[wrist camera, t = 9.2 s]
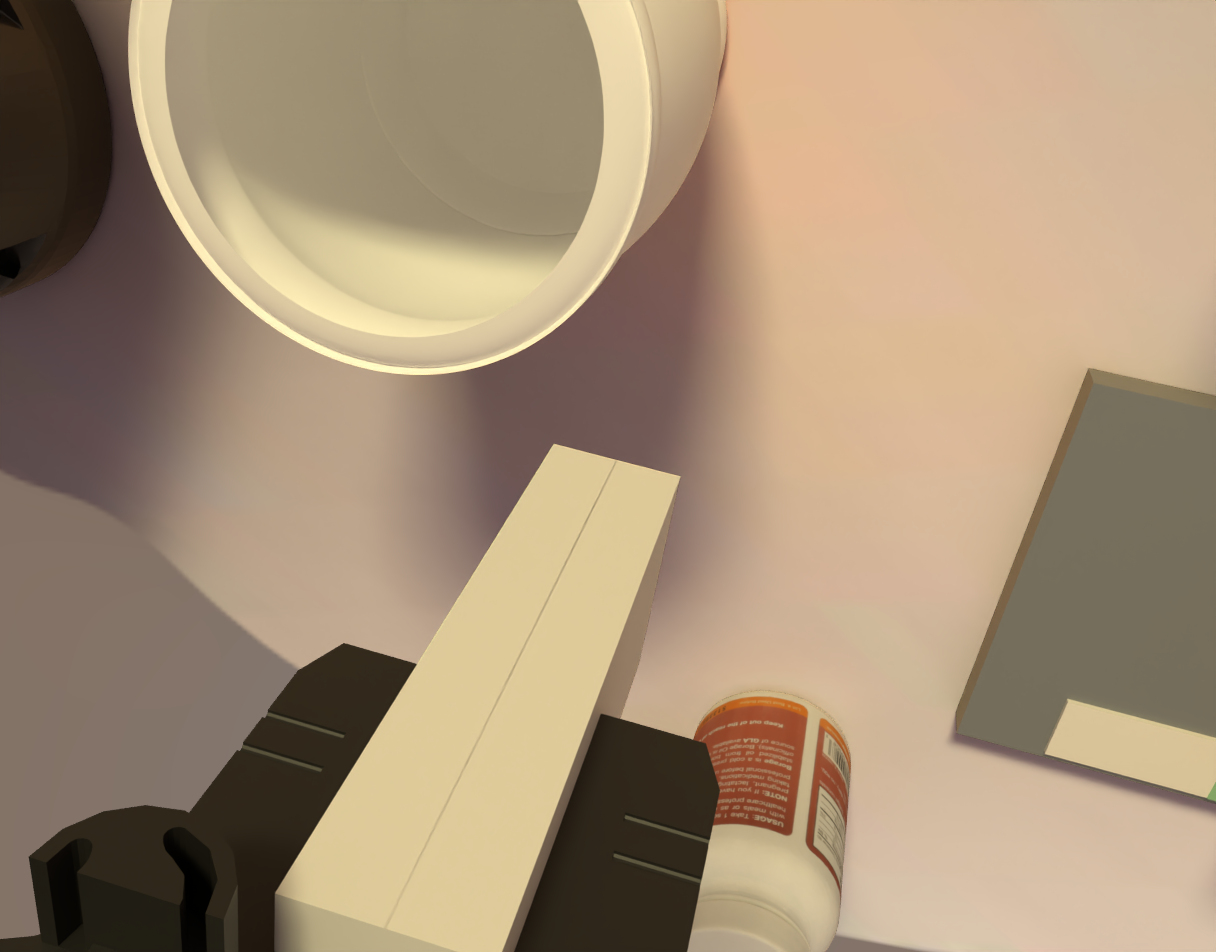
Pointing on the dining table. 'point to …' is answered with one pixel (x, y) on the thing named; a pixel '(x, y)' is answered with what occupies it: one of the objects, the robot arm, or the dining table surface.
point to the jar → (420, 157)
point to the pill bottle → (773, 826)
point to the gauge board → (1113, 597)
